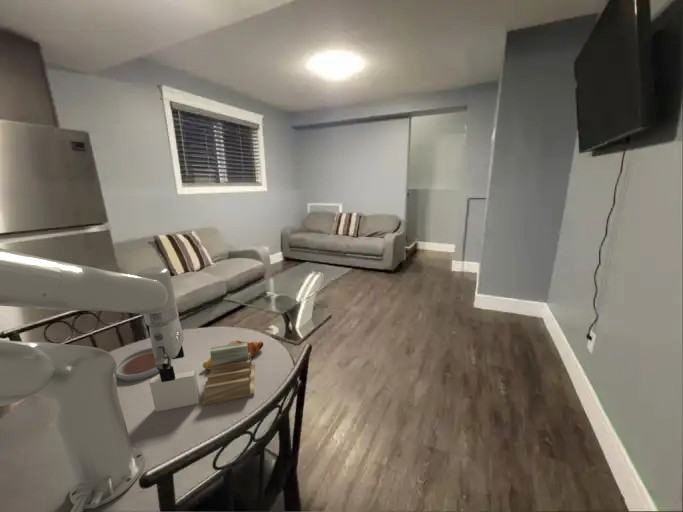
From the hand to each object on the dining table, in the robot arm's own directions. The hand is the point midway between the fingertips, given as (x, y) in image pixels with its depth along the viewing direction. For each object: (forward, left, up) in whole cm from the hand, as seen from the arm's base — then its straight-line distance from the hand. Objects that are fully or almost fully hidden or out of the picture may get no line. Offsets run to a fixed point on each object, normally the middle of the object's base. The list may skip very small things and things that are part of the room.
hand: (173, 368), depth 80 cm
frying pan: (+20, +21, -12) cm, 32 cm away
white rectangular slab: (-1, 0, -12) cm, 12 cm away
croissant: (+18, -14, -12) cm, 25 cm away
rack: (+4, -14, -12) cm, 18 cm away
